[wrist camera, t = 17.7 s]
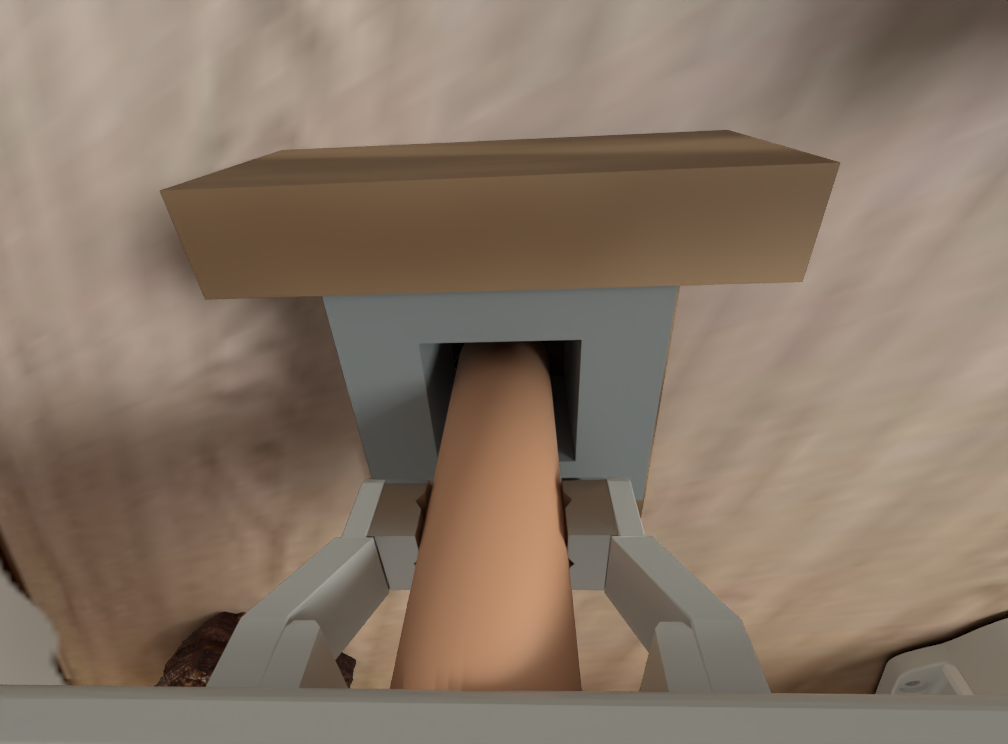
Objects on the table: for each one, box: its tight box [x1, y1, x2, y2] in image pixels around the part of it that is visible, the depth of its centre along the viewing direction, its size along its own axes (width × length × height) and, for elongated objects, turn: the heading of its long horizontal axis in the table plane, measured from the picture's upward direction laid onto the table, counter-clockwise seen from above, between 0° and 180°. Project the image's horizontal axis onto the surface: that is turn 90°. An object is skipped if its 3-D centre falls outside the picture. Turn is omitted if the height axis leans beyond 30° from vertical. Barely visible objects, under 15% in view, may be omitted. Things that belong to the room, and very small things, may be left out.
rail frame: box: [160, 130, 840, 518], centre depth 17 cm, size 18×14×6 cm
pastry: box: [155, 612, 356, 688], centre depth 31 cm, size 11×12×6 cm
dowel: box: [390, 341, 582, 691], centre depth 11 cm, size 3×3×12 cm
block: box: [322, 286, 678, 500], centre depth 16 cm, size 8×9×5 cm
